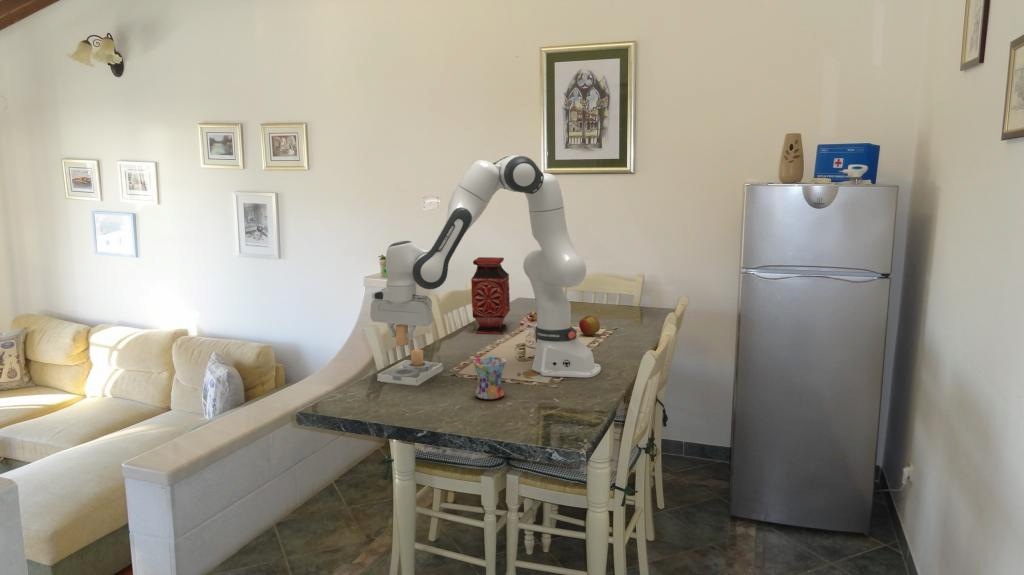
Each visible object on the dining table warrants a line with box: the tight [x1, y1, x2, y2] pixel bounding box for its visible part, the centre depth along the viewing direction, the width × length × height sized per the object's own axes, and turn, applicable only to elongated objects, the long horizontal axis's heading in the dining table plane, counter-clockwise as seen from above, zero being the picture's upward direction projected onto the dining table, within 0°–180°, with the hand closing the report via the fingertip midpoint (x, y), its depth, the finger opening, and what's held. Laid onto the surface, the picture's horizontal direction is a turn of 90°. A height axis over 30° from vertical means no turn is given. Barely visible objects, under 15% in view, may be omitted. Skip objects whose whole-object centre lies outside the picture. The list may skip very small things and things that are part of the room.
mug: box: [472, 356, 507, 400], centre depth 196 cm, size 12×9×11 cm
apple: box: [578, 315, 601, 337], centre depth 269 cm, size 8×8×8 cm
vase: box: [471, 256, 511, 335], centre depth 276 cm, size 14×14×30 cm
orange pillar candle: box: [395, 324, 409, 347], centre depth 210 cm, size 4×4×6 cm
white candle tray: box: [376, 349, 444, 387], centre depth 216 cm, size 14×18×7 cm
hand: (401, 337), depth 210 cm, fingers closed on orange pillar candle, 4 cm apart
